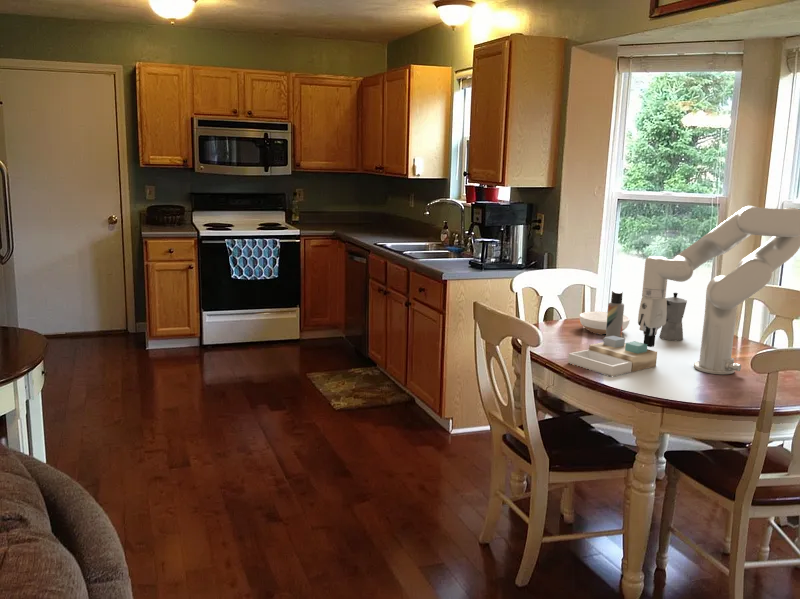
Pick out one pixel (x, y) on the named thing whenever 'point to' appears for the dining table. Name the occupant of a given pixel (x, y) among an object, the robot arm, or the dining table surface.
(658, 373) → the dining table surface
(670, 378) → the dining table surface
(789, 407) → the dining table surface
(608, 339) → the slate tile
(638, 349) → the teal tile
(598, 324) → the bowl
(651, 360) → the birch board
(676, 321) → the coffeepot
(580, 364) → the box
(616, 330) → the lotion bottle
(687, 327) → the dining table surface
